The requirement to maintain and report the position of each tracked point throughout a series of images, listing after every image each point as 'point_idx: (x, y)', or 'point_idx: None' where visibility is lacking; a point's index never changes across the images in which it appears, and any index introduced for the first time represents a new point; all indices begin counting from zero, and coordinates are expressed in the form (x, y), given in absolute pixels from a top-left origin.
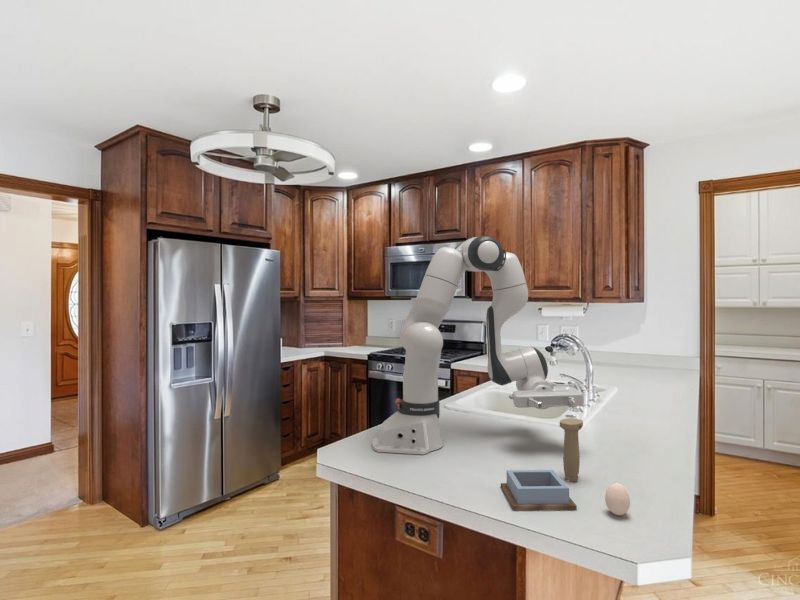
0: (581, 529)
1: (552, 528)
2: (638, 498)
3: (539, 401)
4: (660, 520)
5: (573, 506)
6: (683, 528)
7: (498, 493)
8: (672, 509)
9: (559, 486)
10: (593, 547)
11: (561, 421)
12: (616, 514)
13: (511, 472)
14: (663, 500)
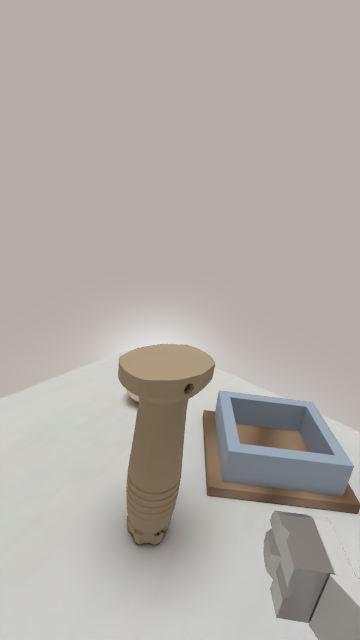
0: (215, 387)
1: (253, 393)
2: (56, 428)
3: (298, 542)
4: (90, 383)
5: (209, 411)
6: (78, 370)
7: (353, 486)
8: (37, 396)
9: (235, 396)
10: (214, 367)
11: (206, 364)
12: None
13: (337, 454)
14: (15, 416)
